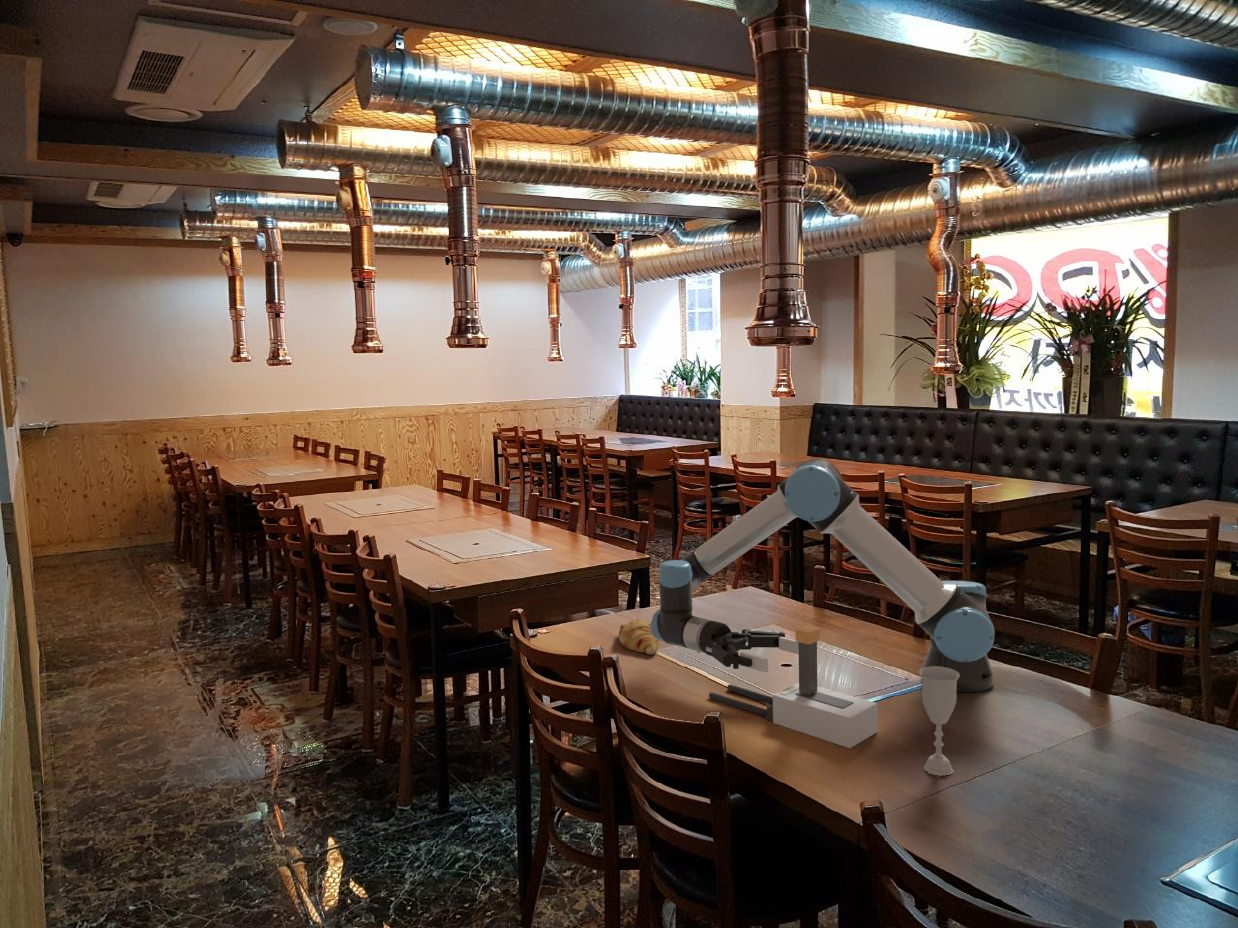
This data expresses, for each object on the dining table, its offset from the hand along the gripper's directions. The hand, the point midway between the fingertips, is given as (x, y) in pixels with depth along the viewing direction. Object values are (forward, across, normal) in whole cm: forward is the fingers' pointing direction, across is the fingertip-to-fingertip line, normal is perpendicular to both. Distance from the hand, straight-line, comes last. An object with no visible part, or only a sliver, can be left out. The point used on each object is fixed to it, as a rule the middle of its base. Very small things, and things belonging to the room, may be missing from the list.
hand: (786, 657), depth 182 cm
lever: (+5, 0, -6) cm, 8 cm away
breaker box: (+9, 0, -13) cm, 16 cm away
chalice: (+34, +2, -13) cm, 37 cm away
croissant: (-57, -12, -13) cm, 60 cm away
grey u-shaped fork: (-9, 0, -13) cm, 16 cm away
